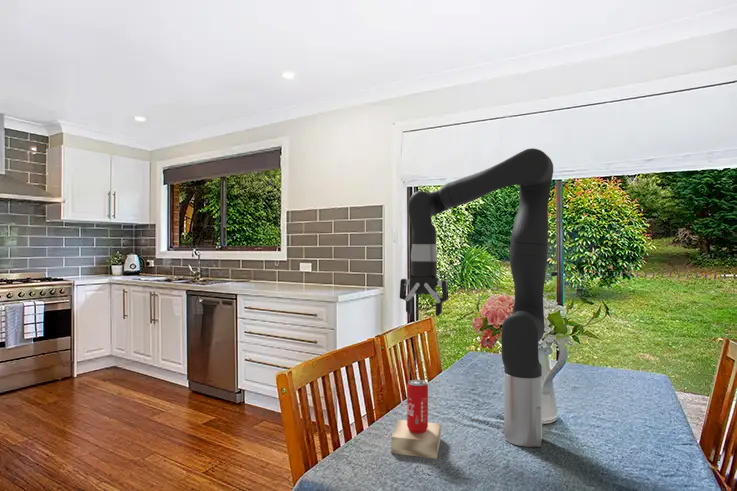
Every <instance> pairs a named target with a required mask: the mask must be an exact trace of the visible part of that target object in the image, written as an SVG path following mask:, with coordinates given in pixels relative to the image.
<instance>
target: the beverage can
mask: <svg viewBox="0 0 737 491" xmlns="http://www.w3.org/2000/svg"><path fill="white" fill-rule="evenodd" d="M407 382H408V383H407V384H406V386H407V388H406V396H407V397H406V403H407V404H406V411H407V412H406V420H407V426H408V429H409V431H410V432H412V433H416V434H421V433H425V432H426V429H427V427H428V422H429V386H428V382H427V381H426V380H424V379H411V380H409V381H407Z"/></svg>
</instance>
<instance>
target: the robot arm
mask: <svg viewBox="0 0 737 491" xmlns="http://www.w3.org/2000/svg"><path fill="white" fill-rule="evenodd" d="M553 175H554V163H553V160H552V159H551V157H549V155H547V154H546V152H544V151H542V150H540V149H538V148H526V149H524V150H522V151H520V152H518V153H516V154H514V155H513V156H511V157H508V158H507V159H505V160H503V161H501V162H499V163H498V164H495V165H493V166H491V167H489V168H486V169H484V170H481V171H479V172H475V173H473V174H471V175H468V176H464V177H462V178H459V179H455V180H454V181H450V182H448V183H444V184H443V185H442V186H441V187H440V188H439V189H437V190H435V191H431V192H426V191H423V190H418V191H415V192H413V193H412V194H411V196H410V198H409V200H408V206H407V207H408V208H407V209H408V216H409V221H410V225H411V230H412V236H411V252H410V279H409V278H408V279H407V278H401V279H400V282H399V283H400V285H399V299H400V300H403V301H405V312H406V313H407V314H408V315H412V314H413V301H412V299H413V298H414V297H415V296H416V294H418V295H422V294H423V295H430V296H431V297H432V298H433V299H434V300H435V317H439V316H440V315H441V314H442V313H443V303H445V302H447V301H448V300H449V284H448V280H447V279H444V280H438V278H437V277H438V276H437V274H438V267H437V266H438V265H437V264H438V262H437V261H438V251H437V229H436V226H435V225H434V224H433V223H432V216H436V215H439V214H442V213H444V212H445V211H447V210H450V209H451V208H455V207H459V206H462V205H464V204H468V203H471V202H474V201H476V200H478V199H480V198H482V197H484V196H486V195H488V194H490V193H492V192H494V191H497V190H500V189H503V188H506V187H512V186H517V185H518V186H519V204H518V211H517V214H516V217H515V219H514V224H513V227H512V231H511V235H510V236H511V237H510V245H509V246H510V247H509V263H510V264H509V265H510V270H511V271H510V272H511V276H512V280H513V281H512V282H513V285H514V301H513V302H514V303H513V307H512V308H513V309H512V313H511V314H510V315H508V316H507V317H506V318H505V319H504V321H503V323H502V324H501V332H500V333H501V334H500V336H501V337H500V338H501V339H500V340H501V341H500V342H501V346H500V347H501V361H502V364H503V368H504V369H503V371H504V372H503V374H504V375H503V377H504V378H503V379H504V380H503V381H504V382H503V386H504V387H503V390H504V391H503V394H504V395H503V438H504V440H506V442H508V443H510V444H512V445H516V446H519V447H525V448H526V447H527V448H528V447H531V448H532V447H539V448H541V447H542V440H543V402H542V400H543V399H542V393H543V392H542V391H543V390H542V388H543V387H542V382H543V381H542V377H543V376H542V374H543V372H542V368H543V367H542V364H541V363H540V360H539V357H540V356H539V342H540V341H541V340H542V338H543V336H544V334H545V328H546V326H545V313H544V291H545V290H544V289H545V282H546V272H547V265H548V264H547V263H548V250H549V248H548V247H549V210H548V209H549V200H550V199H549V198H550V193H551V187H552V180H553ZM409 284H410V287H412V288H411V290H410V291H409V293H408V294H407V289H408V288H407V287H408V286H409ZM438 286H439V288H441V296H440V293H439V291H437V289H436V288H437V287H438Z"/></svg>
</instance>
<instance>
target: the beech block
mask: <svg viewBox="0 0 737 491" xmlns="http://www.w3.org/2000/svg"><path fill="white" fill-rule="evenodd" d="M441 426H442V424H441V423H438V422H437V423H436V422H429V421H428V427H427V429H426V432H425V433H421V434H416V433H412V432H410V431H409V429H408V426H407V419H398V421H397V423H396V425H395V427H394V430H393V432H392V434H391V437H390V445H391V446H390V447H391V448H390V449H391V450H390V454H395V455H403V456H412V457H420V458H428V459H436V460H437V459H438V455H439V451H440V450H439V448H440V446H441V445H440V444H441V436H442V430H441V429H442V428H441Z"/></svg>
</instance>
